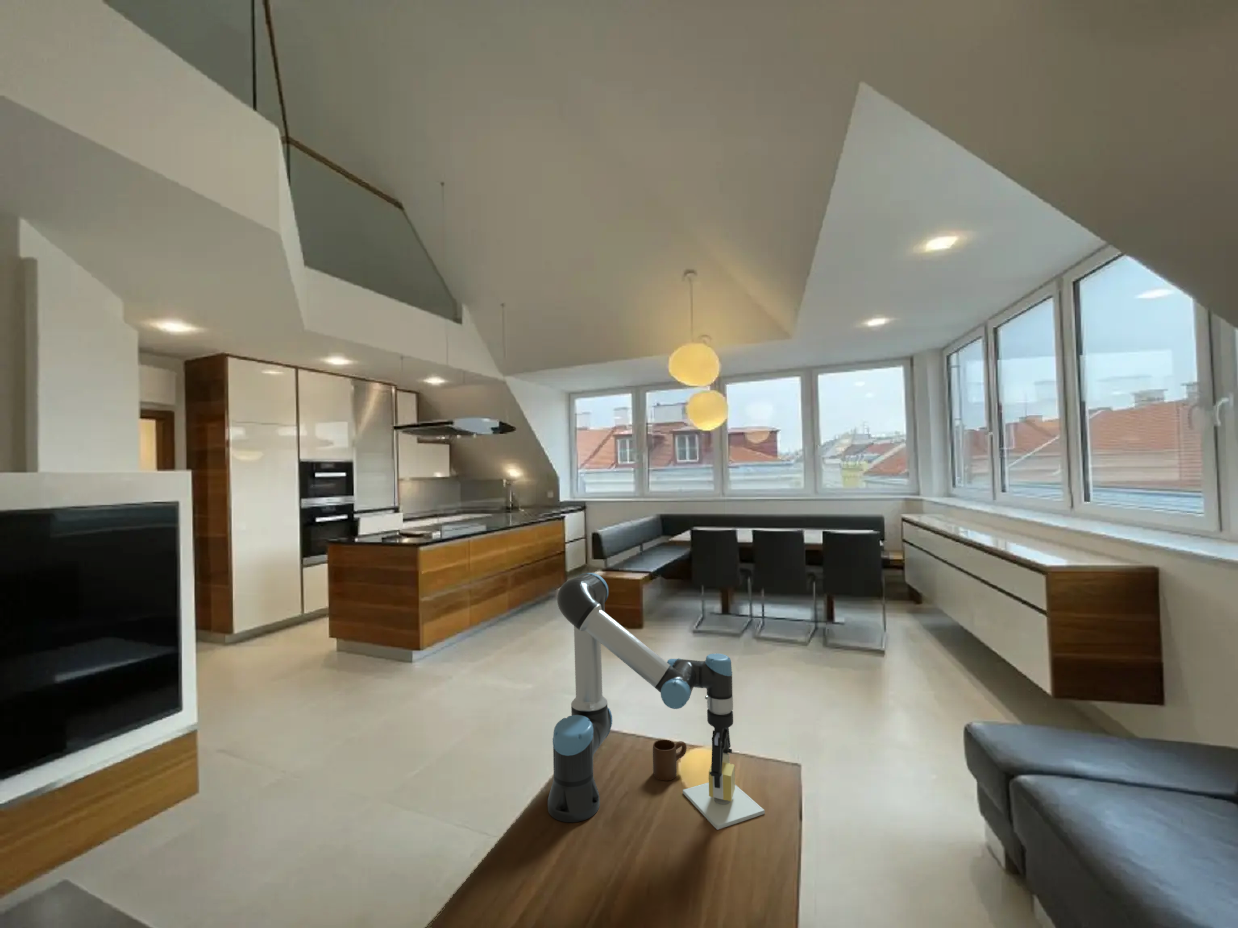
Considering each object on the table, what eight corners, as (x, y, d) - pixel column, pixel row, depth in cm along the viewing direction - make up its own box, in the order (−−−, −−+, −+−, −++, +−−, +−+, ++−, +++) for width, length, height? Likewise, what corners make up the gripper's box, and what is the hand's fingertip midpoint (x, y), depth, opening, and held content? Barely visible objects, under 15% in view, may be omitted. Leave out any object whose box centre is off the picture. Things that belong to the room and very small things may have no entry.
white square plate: (682, 793, 151) (682, 763, 152) (726, 780, 158) (726, 752, 158) (717, 829, 135) (716, 796, 135) (764, 813, 141) (763, 782, 142)
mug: (680, 762, 168) (680, 734, 169) (692, 774, 161) (692, 744, 162) (649, 771, 163) (648, 741, 164) (660, 783, 156) (659, 752, 157)
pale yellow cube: (734, 788, 148) (734, 764, 149) (731, 801, 142) (731, 776, 143) (713, 783, 151) (713, 760, 151) (708, 796, 145) (708, 771, 145)
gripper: (714, 692, 160) (716, 763, 159) (698, 724, 138) (700, 806, 137) (738, 695, 157) (740, 767, 156) (726, 729, 136) (728, 812, 134)
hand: (721, 786), depth 147 cm, fingers open, 11 cm apart
